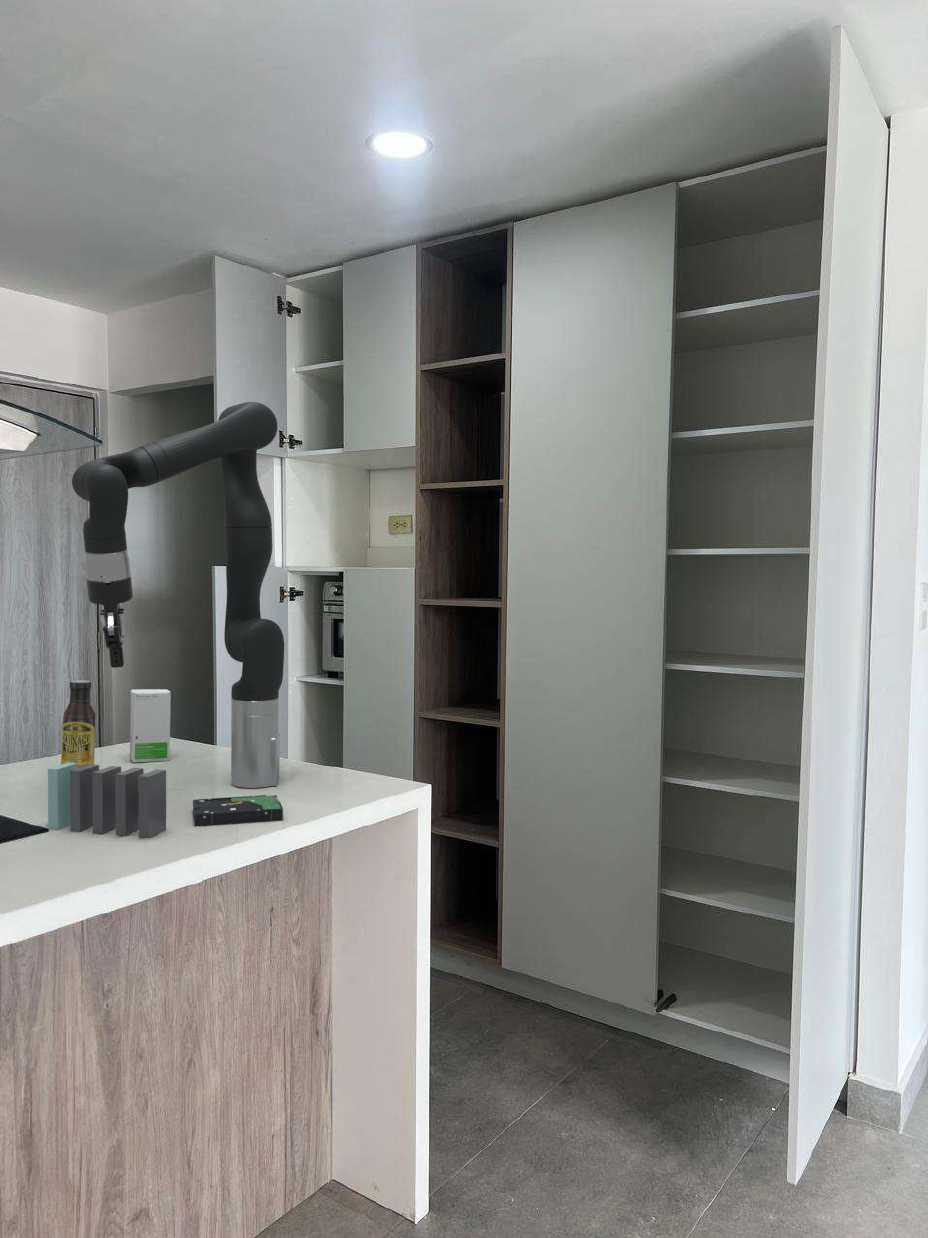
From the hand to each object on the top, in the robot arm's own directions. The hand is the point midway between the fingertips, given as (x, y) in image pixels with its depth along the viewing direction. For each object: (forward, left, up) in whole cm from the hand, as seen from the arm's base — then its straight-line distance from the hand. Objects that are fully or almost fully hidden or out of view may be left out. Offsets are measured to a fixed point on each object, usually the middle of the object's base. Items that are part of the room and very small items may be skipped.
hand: (117, 666), depth 169 cm
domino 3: (-4, +21, -25) cm, 33 cm away
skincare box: (+2, -35, -25) cm, 43 cm away
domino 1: (+4, +18, -25) cm, 31 cm away
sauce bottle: (+12, -17, -25) cm, 32 cm away
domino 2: (0, +20, -25) cm, 31 cm away
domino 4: (-8, +22, -25) cm, 34 cm away
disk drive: (-24, +13, -25) cm, 37 cm away
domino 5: (-12, +24, -25) cm, 36 cm away
